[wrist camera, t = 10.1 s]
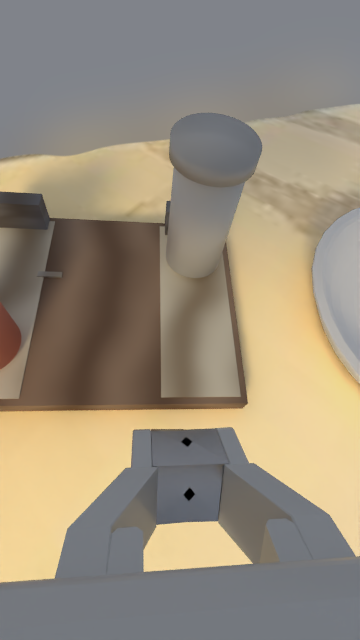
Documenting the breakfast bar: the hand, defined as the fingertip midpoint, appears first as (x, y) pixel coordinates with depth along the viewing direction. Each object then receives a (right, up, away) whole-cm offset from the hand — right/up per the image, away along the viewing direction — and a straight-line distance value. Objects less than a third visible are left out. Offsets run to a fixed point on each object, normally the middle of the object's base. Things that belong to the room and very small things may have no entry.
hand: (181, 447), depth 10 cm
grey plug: (+1, +10, +20) cm, 23 cm away
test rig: (-7, +5, +19) cm, 21 cm away
